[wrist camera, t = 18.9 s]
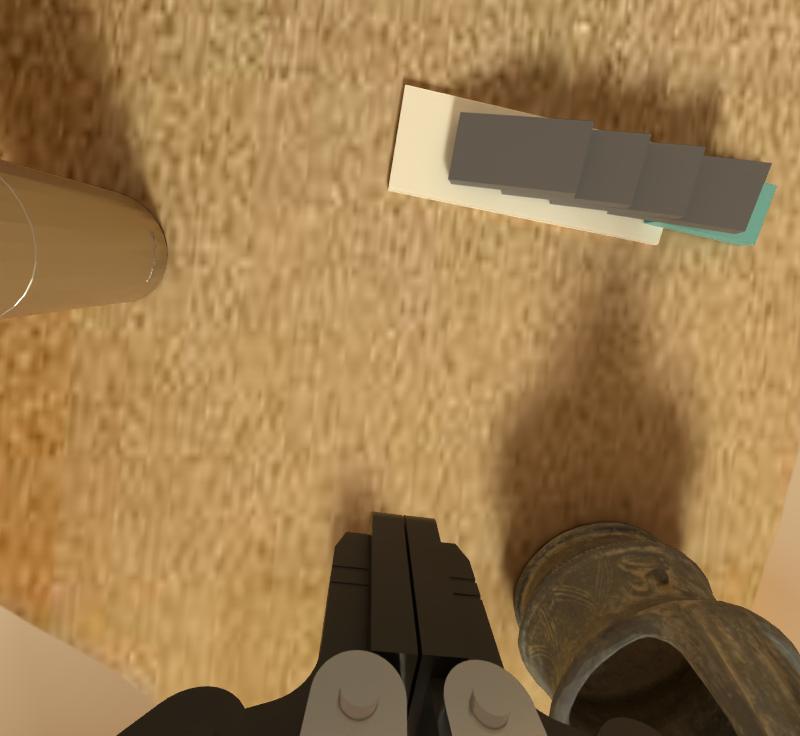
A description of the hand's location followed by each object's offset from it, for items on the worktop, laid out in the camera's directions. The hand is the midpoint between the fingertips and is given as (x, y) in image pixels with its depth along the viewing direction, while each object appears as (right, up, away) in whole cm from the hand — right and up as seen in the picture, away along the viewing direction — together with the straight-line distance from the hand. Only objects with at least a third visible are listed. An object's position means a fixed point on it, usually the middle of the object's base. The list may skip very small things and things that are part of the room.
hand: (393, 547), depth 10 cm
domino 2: (+9, +22, +24) cm, 34 cm away
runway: (+12, +21, +26) cm, 36 cm away
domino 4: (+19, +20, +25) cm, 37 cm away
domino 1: (+5, +22, +24) cm, 33 cm away
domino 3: (+13, +21, +25) cm, 35 cm away
